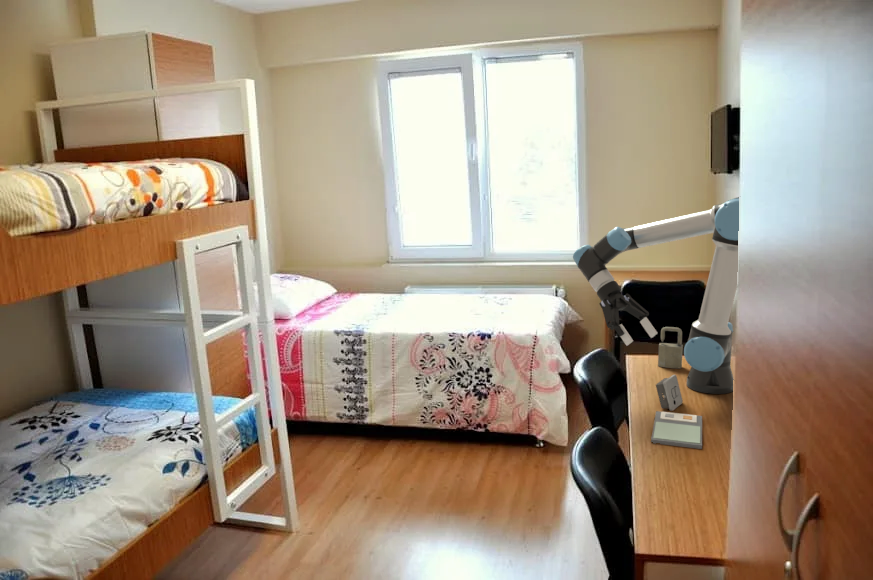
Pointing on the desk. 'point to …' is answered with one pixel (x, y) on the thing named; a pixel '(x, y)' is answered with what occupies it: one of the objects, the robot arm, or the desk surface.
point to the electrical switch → (669, 393)
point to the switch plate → (677, 429)
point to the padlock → (670, 350)
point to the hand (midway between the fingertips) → (642, 339)
